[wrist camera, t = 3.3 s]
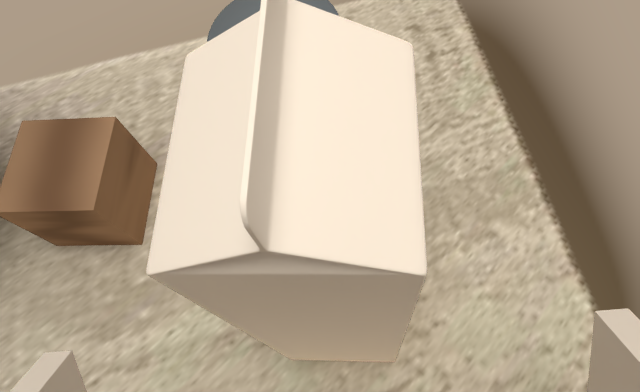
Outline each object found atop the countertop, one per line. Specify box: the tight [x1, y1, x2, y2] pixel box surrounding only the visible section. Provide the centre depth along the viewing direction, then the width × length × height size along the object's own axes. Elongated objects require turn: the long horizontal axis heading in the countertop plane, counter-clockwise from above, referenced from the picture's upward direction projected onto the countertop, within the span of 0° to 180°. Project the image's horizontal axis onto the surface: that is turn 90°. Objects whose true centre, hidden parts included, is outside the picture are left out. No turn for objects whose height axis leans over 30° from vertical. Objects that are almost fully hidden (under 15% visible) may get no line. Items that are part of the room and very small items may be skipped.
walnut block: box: [0, 117, 157, 246], centre depth 30 cm, size 6×6×6 cm
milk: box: [146, 0, 427, 362], centre depth 18 cm, size 6×6×22 cm
